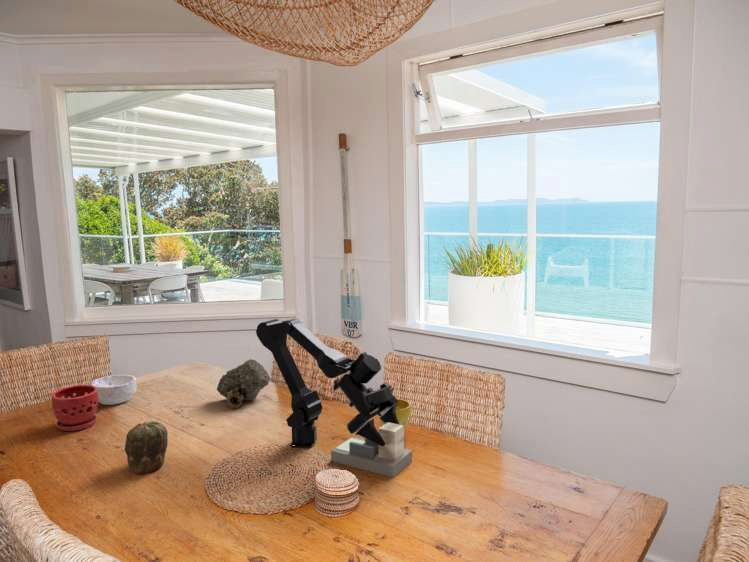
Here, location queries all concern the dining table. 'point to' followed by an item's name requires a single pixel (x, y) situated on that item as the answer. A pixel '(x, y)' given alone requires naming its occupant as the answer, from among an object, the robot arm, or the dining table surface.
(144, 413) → the dining table surface
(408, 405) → the plant pot
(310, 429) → the robot arm
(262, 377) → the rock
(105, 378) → the white bowl
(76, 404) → the plant pot
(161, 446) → the olive lumpy chunk
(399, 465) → the tunnel deck
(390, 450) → the cream block
